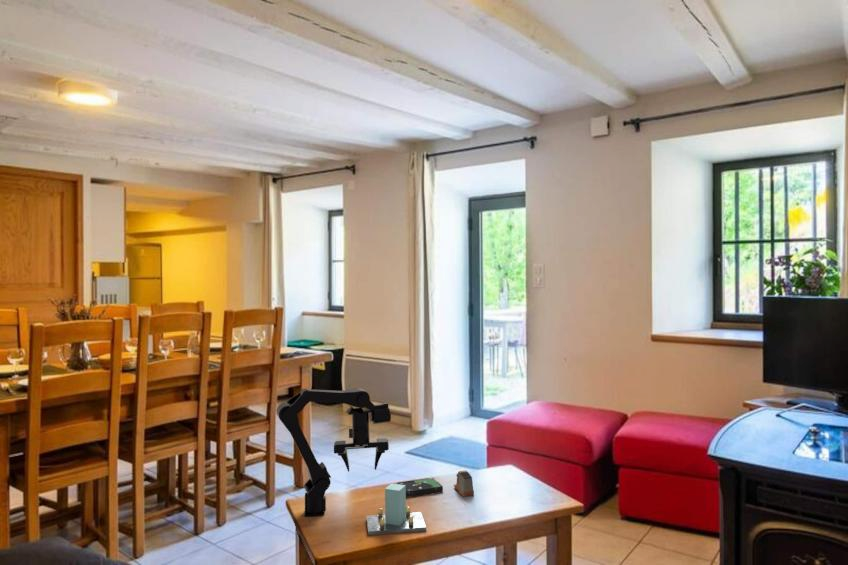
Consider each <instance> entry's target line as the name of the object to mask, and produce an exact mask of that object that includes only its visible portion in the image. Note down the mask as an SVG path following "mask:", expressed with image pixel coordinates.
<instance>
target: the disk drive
mask: <svg viewBox="0 0 848 565" xmlns="http://www.w3.org/2000/svg"><path fill="white" fill-rule="evenodd" d="M396 484H400V485H406V498H412V497H419V496H425V495H424V494H427V495H432V493H434V494H440V493H439V492H441V493H444V487H443V485H442V484H441V483H440V482H439V481H437V480H436V479H435V478H434V477H430V478H421V479H413V480H407V481H406V480H405V481H399V482H396Z"/></svg>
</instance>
